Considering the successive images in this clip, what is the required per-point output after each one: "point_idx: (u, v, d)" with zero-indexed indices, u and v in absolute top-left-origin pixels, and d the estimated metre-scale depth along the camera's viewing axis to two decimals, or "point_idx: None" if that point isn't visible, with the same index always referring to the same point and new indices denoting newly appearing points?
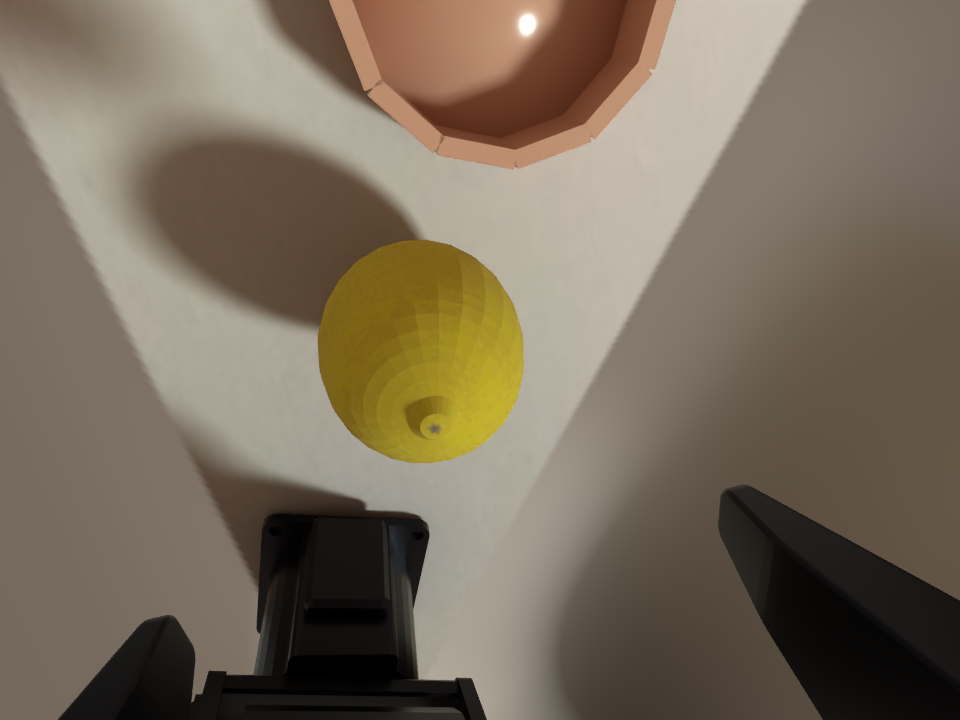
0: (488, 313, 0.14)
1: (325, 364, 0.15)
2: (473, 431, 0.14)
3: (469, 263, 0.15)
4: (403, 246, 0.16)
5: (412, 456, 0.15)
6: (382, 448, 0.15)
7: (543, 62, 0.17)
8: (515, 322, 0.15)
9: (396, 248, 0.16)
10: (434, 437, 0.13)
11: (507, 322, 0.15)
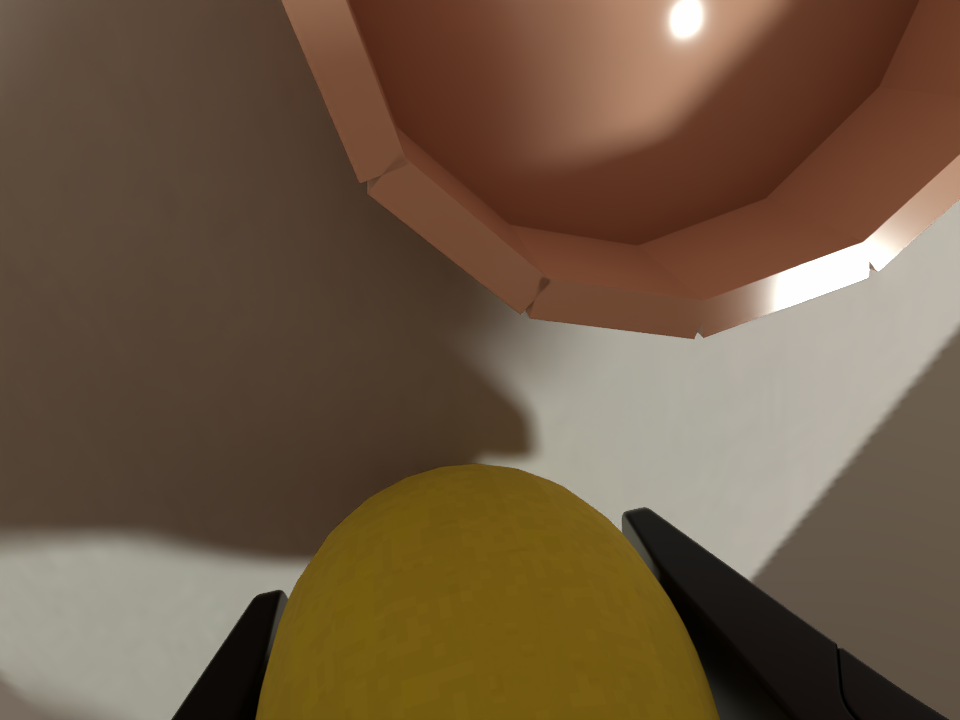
0: None
1: None
2: None
3: (609, 583, 0.07)
4: (451, 537, 0.07)
5: None
6: None
7: (742, 95, 0.08)
8: None
9: (435, 542, 0.07)
10: None
11: None
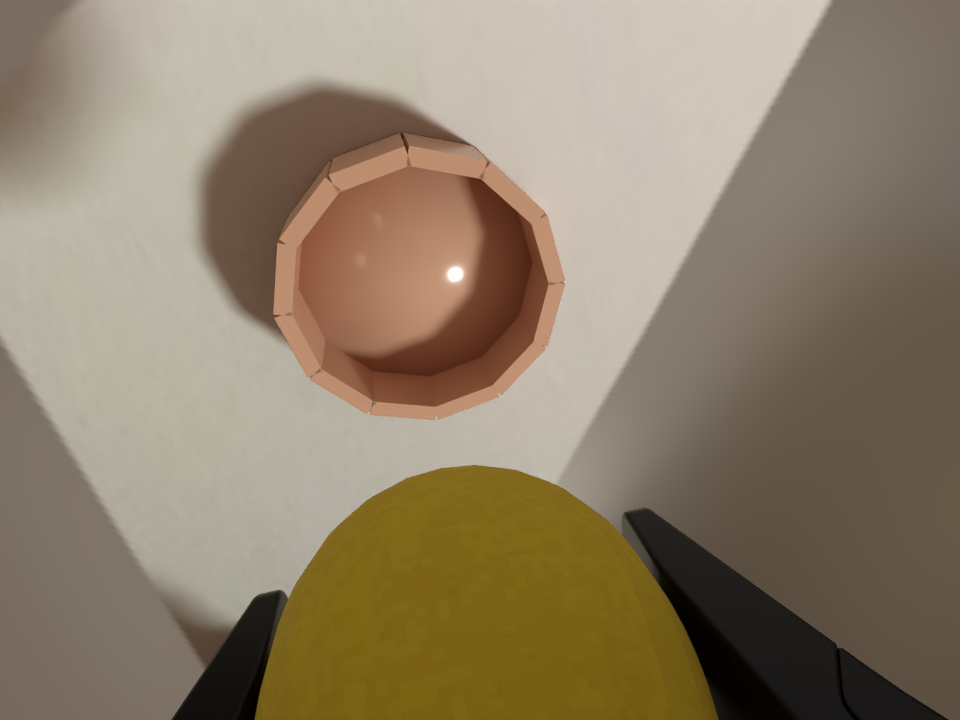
0: None
1: None
2: None
3: (608, 586, 0.07)
4: (451, 540, 0.07)
5: None
6: None
7: (462, 322, 0.20)
8: None
9: (434, 544, 0.07)
10: None
11: None
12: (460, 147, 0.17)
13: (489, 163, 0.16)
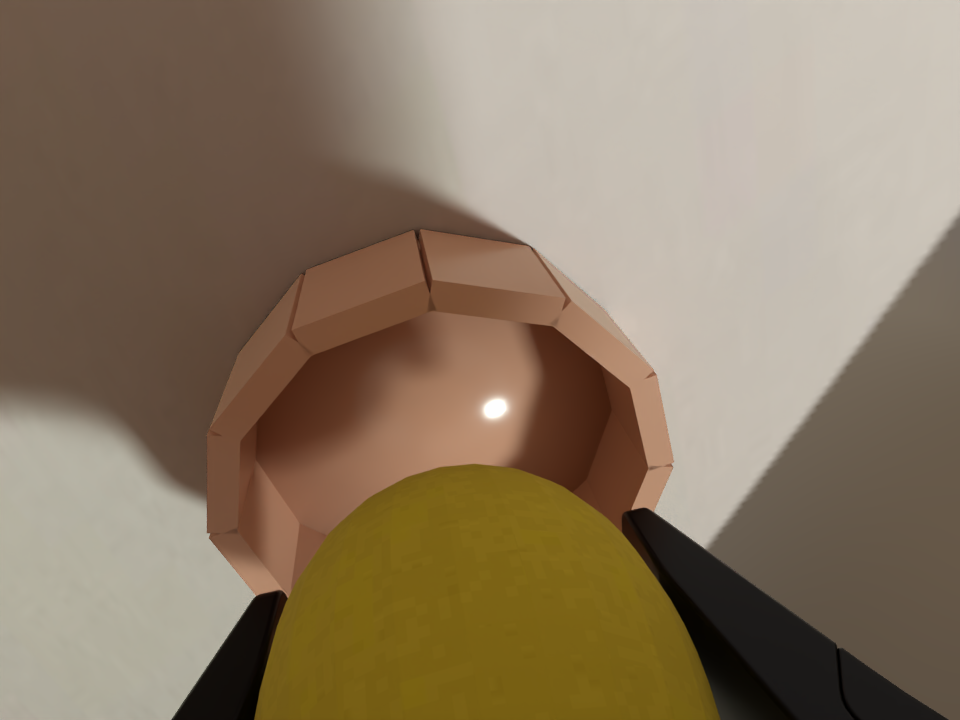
0: None
1: None
2: None
3: (609, 584, 0.06)
4: (451, 538, 0.07)
5: None
6: None
7: None
8: None
9: (434, 542, 0.07)
10: None
11: None
12: (513, 258, 0.11)
13: (568, 301, 0.10)
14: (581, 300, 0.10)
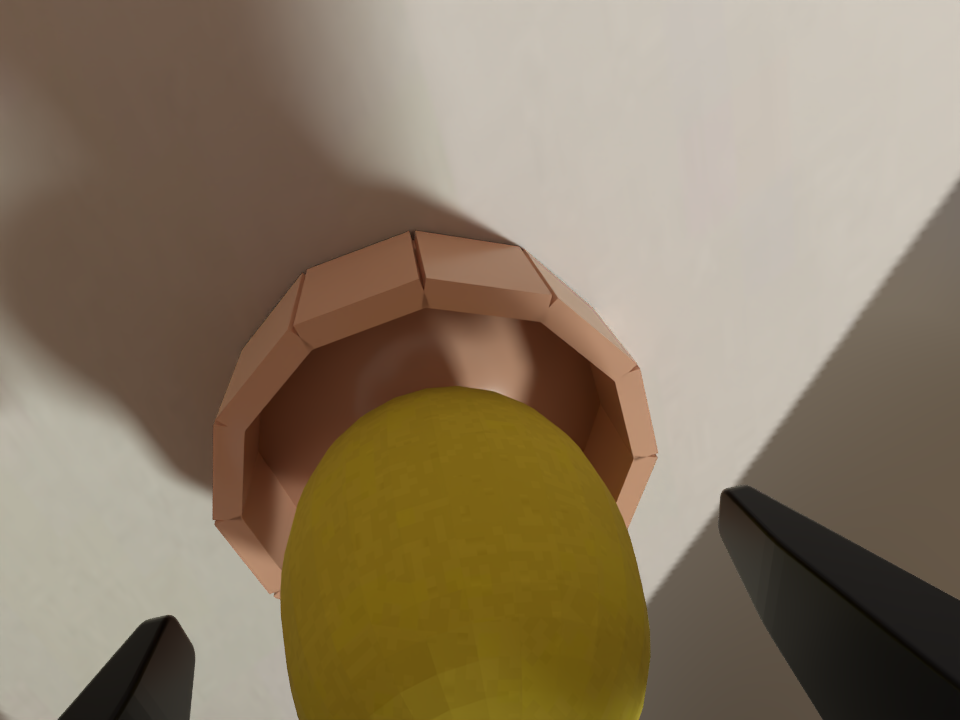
0: (605, 585, 0.07)
1: (291, 671, 0.08)
2: None
3: (552, 457, 0.09)
4: (433, 424, 0.09)
5: None
6: None
7: None
8: (636, 565, 0.09)
9: (420, 428, 0.09)
10: None
11: (631, 586, 0.08)
12: (503, 258, 0.11)
13: (555, 298, 0.10)
14: (568, 298, 0.11)
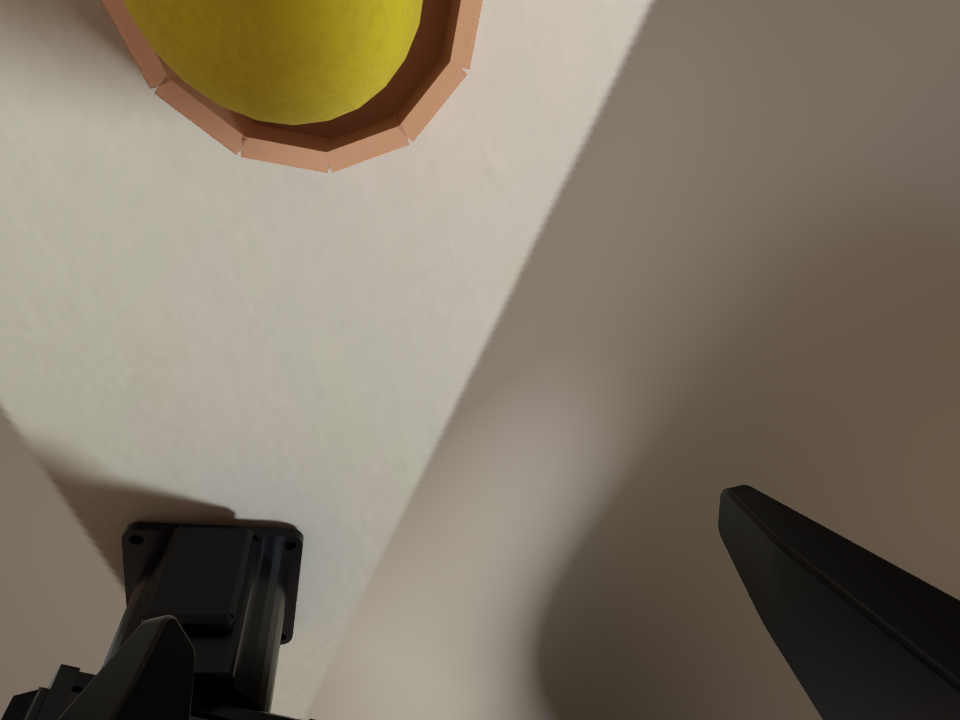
0: None
1: None
2: (318, 5, 0.09)
3: None
4: None
5: (230, 55, 0.09)
6: (184, 42, 0.09)
7: None
8: None
9: None
10: None
11: None
12: None
13: None
14: None
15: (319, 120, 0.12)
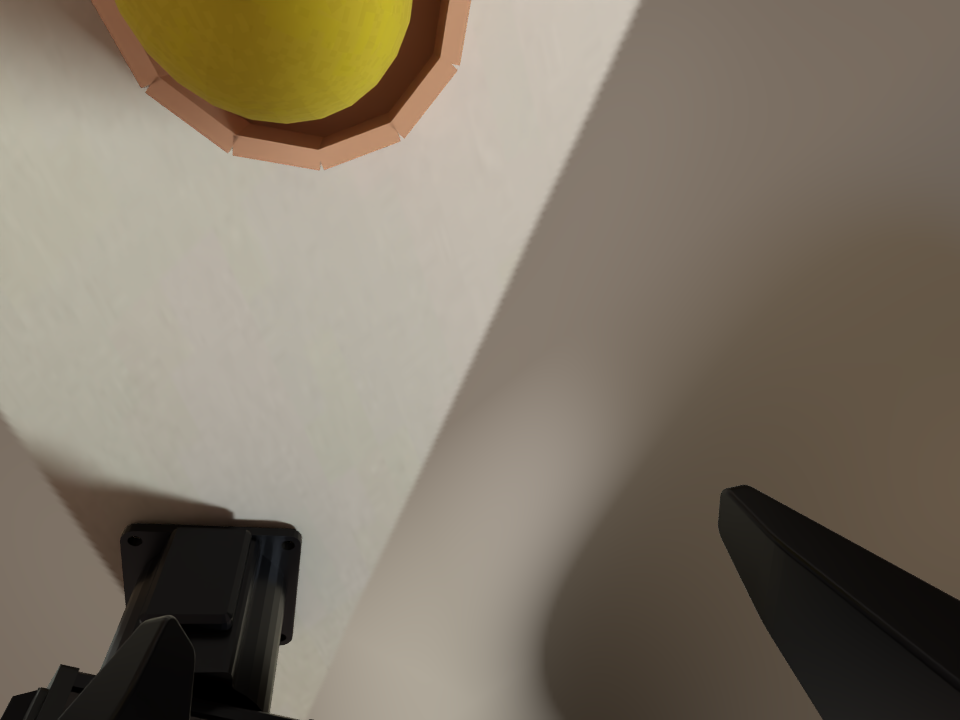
0: None
1: None
2: (309, 5, 0.09)
3: None
4: None
5: (223, 55, 0.10)
6: (177, 43, 0.10)
7: None
8: None
9: None
10: None
11: None
12: None
13: None
14: None
15: (312, 118, 0.12)
